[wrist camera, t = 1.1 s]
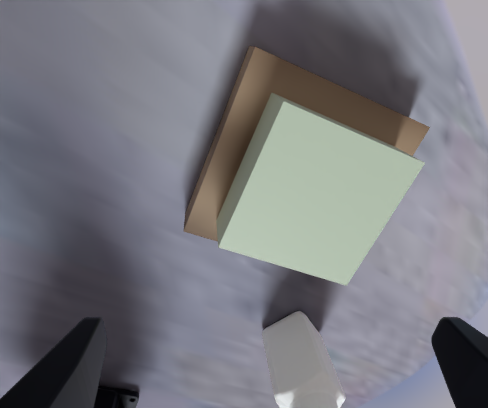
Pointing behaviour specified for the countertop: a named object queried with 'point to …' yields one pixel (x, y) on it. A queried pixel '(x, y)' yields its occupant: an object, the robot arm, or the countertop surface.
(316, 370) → the pepper shaker
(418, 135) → the tower base block
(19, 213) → the countertop surface
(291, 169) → the tower top block
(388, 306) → the countertop surface
